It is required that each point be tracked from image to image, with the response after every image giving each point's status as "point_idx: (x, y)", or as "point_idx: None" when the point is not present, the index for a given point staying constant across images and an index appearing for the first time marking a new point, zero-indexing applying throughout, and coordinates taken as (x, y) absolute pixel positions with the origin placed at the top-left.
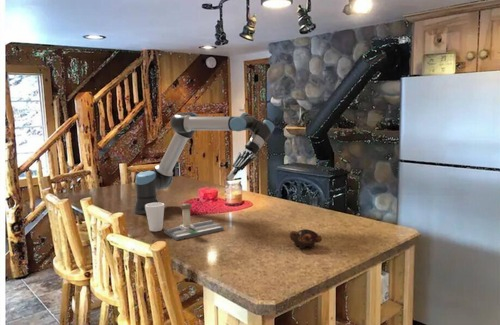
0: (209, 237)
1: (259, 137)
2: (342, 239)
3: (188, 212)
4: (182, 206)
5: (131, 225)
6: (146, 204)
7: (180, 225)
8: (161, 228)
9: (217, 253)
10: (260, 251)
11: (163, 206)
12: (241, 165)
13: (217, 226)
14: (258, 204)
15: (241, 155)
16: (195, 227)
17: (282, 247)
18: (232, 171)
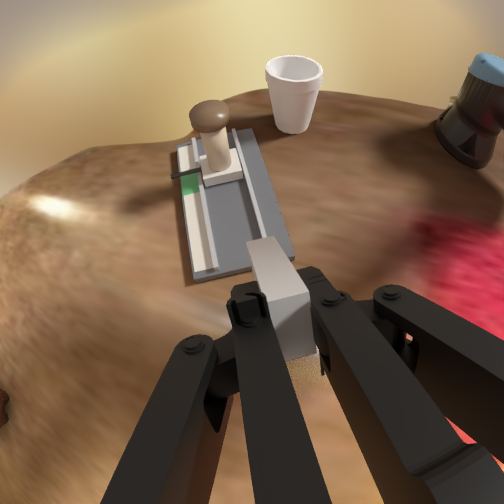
0: (151, 224)
1: None
2: (15, 500)
3: (201, 135)
4: (199, 105)
5: (345, 94)
6: (305, 57)
7: (229, 149)
8: (282, 128)
9: (55, 218)
10: (16, 304)
11: (279, 83)
12: (164, 372)
13: (208, 261)
14: None
15: (473, 490)
16: (235, 196)
17: (11, 362)
18: (259, 270)
